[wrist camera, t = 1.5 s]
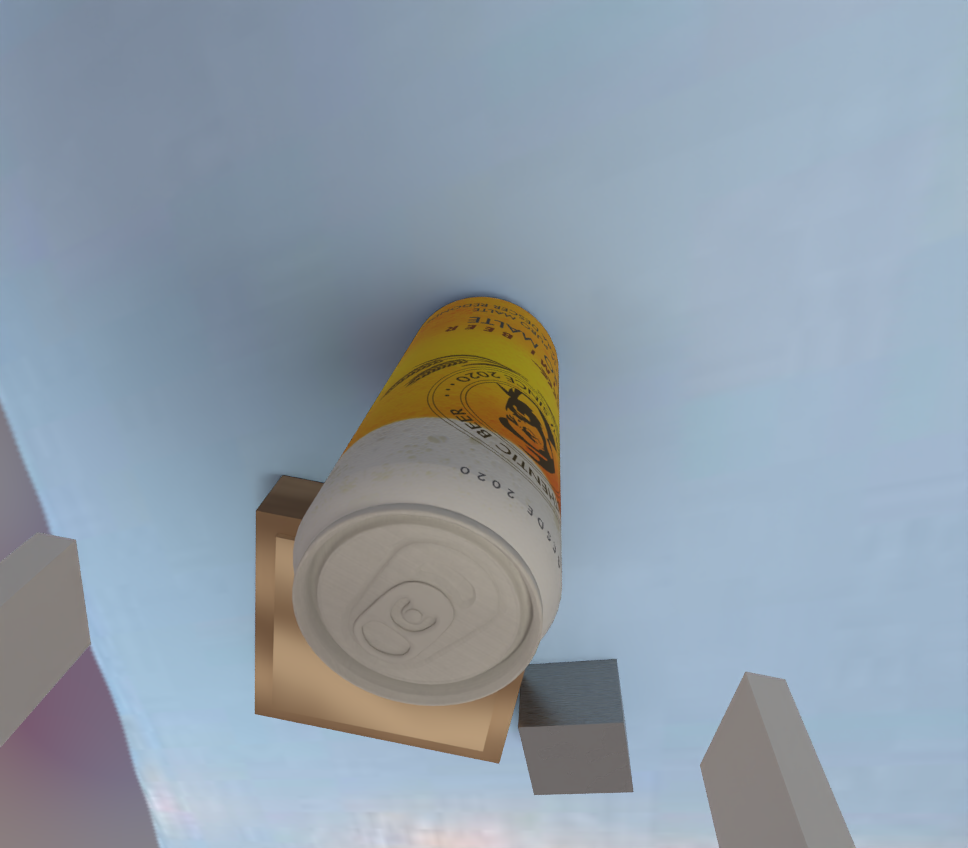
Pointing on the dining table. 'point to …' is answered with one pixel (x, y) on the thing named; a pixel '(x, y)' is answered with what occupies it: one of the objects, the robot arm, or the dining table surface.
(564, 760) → the steel block
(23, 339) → the dining table surface
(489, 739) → the plinth
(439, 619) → the beer can
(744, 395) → the dining table surface
